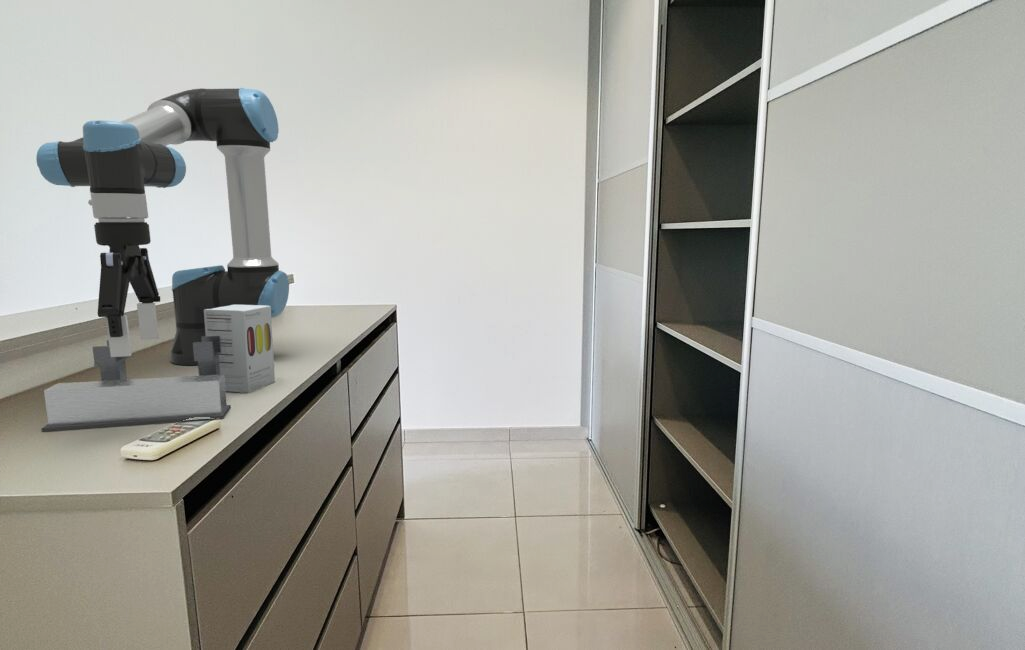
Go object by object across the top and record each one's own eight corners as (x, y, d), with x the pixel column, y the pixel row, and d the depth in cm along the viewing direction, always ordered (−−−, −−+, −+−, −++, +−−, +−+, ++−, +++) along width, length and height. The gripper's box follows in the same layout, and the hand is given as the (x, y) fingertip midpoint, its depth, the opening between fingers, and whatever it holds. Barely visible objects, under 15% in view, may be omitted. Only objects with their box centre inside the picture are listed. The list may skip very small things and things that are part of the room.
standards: (112, 401, 111) (105, 340, 109) (226, 394, 116) (222, 335, 114) (97, 412, 104) (89, 347, 102) (219, 404, 109) (214, 342, 107)
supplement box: (248, 393, 117) (242, 310, 114) (208, 391, 118) (201, 309, 116) (276, 381, 126) (271, 304, 123) (238, 379, 128) (233, 303, 125)
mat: (60, 419, 100) (60, 416, 100) (230, 407, 107) (230, 404, 107) (41, 431, 94) (41, 428, 94) (223, 418, 101) (222, 415, 101)
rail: (61, 417, 100) (57, 383, 99) (226, 406, 106) (224, 374, 105) (48, 425, 96) (43, 390, 95) (221, 413, 102) (218, 380, 101)
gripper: (124, 219, 106) (137, 333, 110) (58, 221, 82) (78, 366, 86) (170, 219, 108) (181, 331, 112) (118, 221, 84) (135, 363, 88)
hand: (136, 347), depth 99 cm, fingers open, 13 cm apart
